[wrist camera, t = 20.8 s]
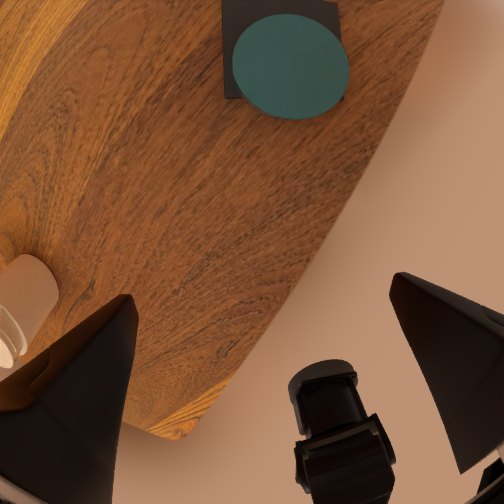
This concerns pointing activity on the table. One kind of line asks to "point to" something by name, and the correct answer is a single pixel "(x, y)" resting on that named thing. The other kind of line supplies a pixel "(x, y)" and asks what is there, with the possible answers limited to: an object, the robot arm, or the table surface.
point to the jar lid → (289, 67)
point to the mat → (260, 6)
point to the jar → (24, 305)
